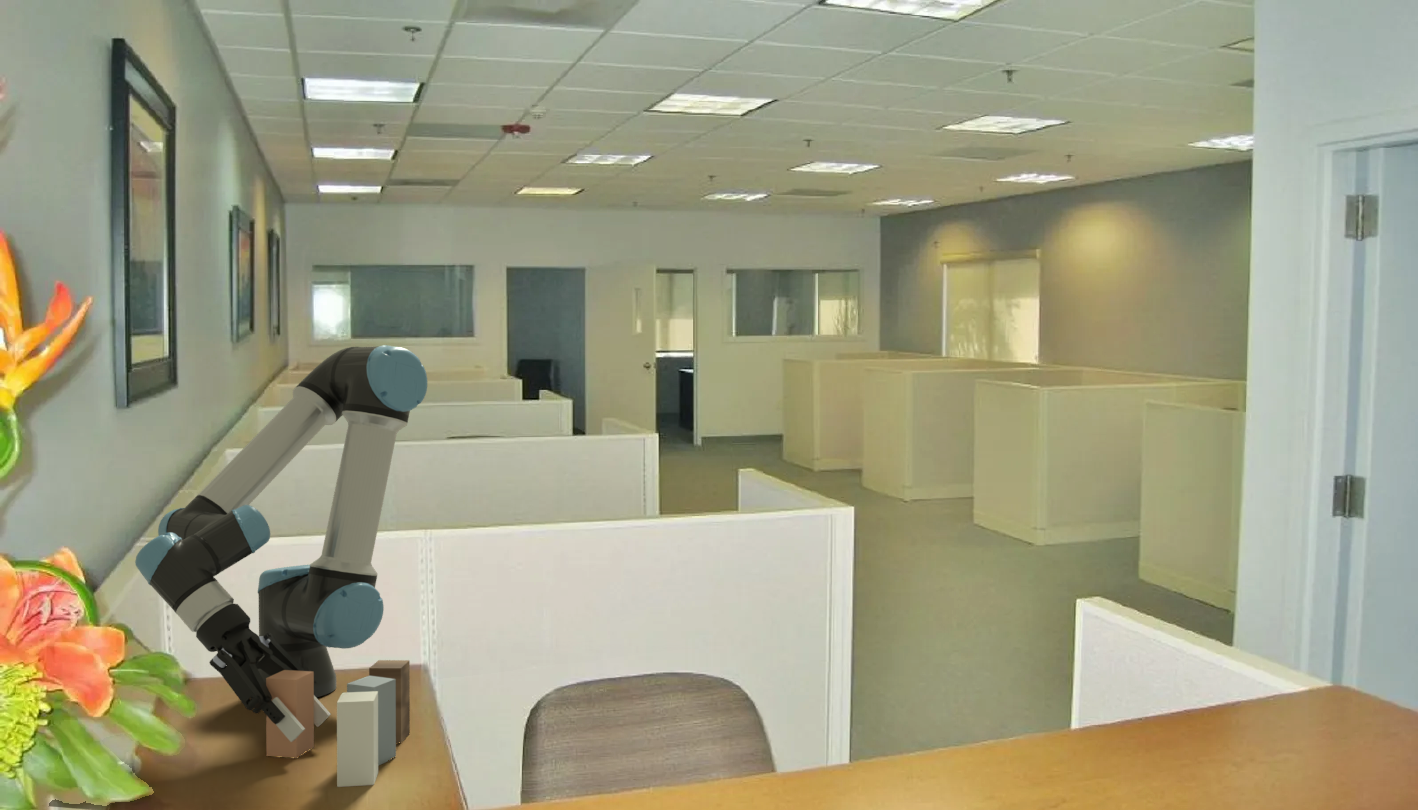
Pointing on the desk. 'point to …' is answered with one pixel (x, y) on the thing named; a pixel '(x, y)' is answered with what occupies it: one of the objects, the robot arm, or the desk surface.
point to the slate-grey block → (381, 712)
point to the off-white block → (357, 738)
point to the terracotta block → (300, 702)
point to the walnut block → (397, 691)
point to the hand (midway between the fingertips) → (311, 727)
